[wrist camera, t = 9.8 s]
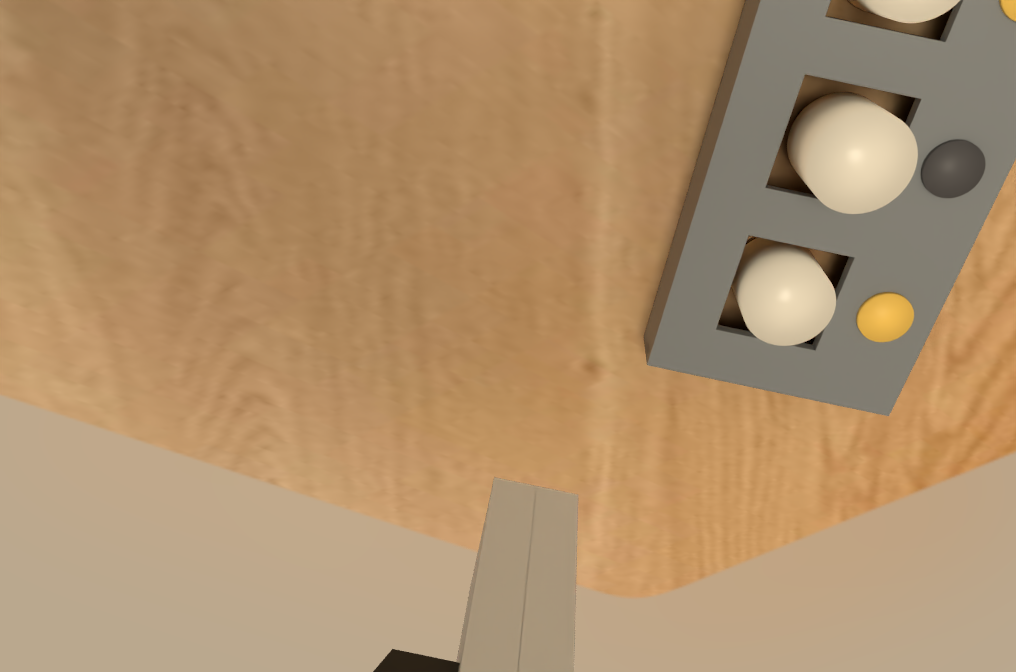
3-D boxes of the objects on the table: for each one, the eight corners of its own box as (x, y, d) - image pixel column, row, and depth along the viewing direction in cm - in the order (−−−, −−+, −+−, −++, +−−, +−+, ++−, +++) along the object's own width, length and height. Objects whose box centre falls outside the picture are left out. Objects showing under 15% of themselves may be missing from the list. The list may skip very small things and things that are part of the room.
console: (643, 336, 42) (647, 368, 39) (809, -211, 30) (832, -225, 28) (869, 384, 42) (890, 419, 39) (1118, -145, 30) (1173, -153, 28)
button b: (773, 175, 35) (792, 202, 32) (806, 82, 33) (830, 100, 30) (863, 194, 35) (892, 223, 32) (900, 102, 33) (935, 123, 30)
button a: (719, 300, 40) (730, 335, 36) (744, 225, 38) (759, 255, 35) (797, 317, 40) (816, 353, 36) (827, 243, 38) (850, 274, 35)
